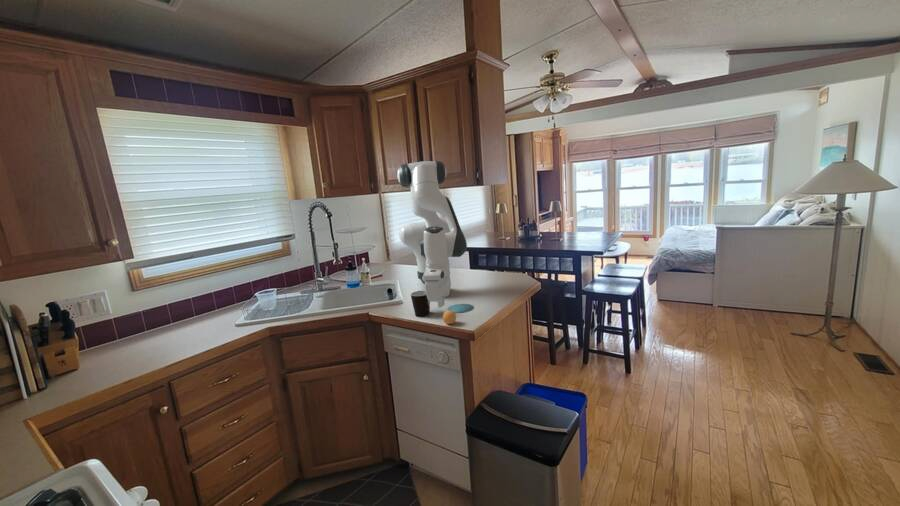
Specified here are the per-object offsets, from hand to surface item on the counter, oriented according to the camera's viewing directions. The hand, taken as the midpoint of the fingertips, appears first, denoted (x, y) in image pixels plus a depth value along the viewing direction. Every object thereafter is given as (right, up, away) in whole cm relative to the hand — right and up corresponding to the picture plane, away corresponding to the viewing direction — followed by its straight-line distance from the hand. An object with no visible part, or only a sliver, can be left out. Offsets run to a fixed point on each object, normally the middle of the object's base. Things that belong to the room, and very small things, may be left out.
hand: (441, 306), depth 138 cm
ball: (+3, -6, +11) cm, 13 cm away
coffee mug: (-8, -7, +27) cm, 29 cm away
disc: (+8, -5, +29) cm, 31 cm away
